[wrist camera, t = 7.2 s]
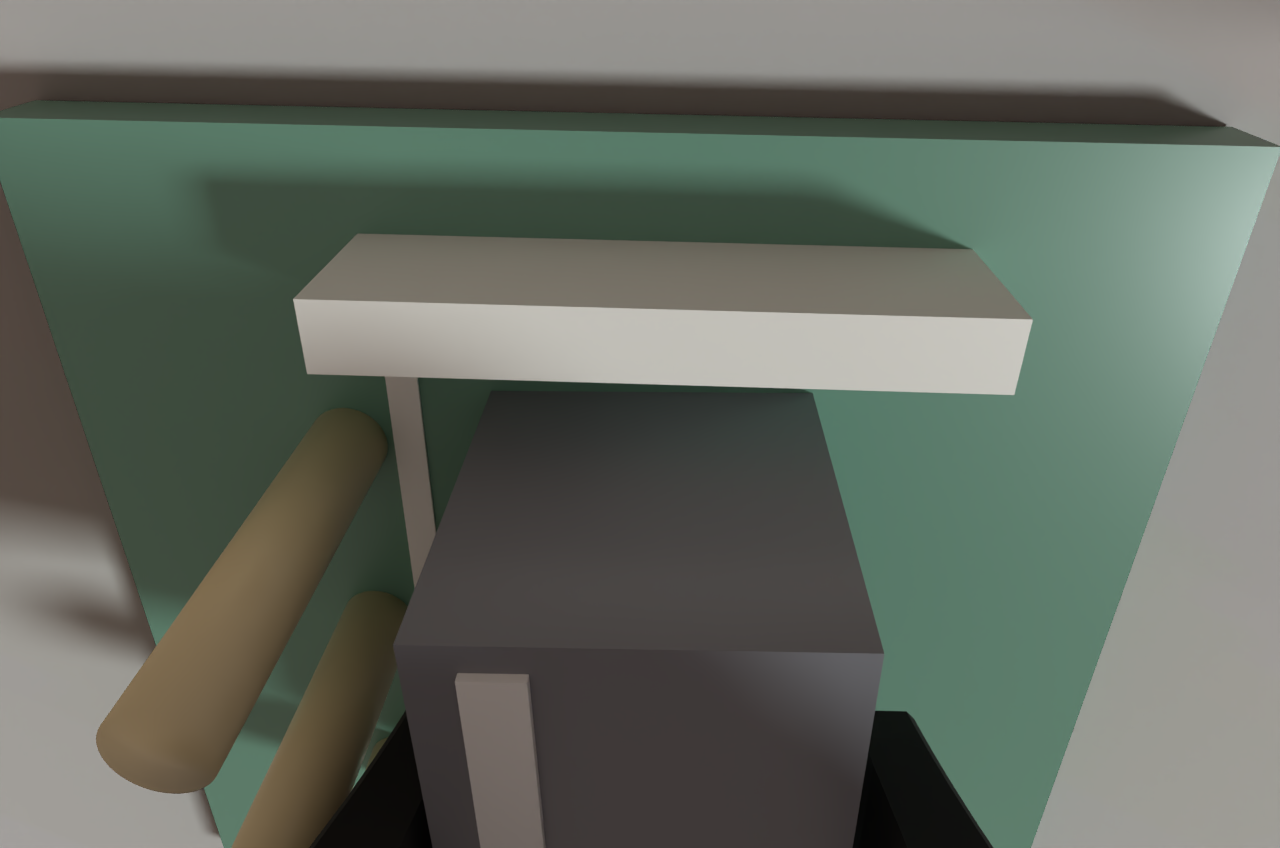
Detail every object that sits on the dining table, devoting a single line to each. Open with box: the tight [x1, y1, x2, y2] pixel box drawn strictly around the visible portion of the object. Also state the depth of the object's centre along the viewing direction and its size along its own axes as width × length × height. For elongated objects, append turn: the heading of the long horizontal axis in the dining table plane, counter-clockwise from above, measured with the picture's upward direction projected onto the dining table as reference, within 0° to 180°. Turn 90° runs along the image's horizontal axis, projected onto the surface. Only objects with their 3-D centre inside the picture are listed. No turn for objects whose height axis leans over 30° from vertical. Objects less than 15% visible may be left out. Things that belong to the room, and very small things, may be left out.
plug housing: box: [393, 391, 884, 848], centre depth 11 cm, size 4×7×5 cm, turn 1°
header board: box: [0, 100, 1280, 848], centre depth 11 cm, size 14×14×6 cm
